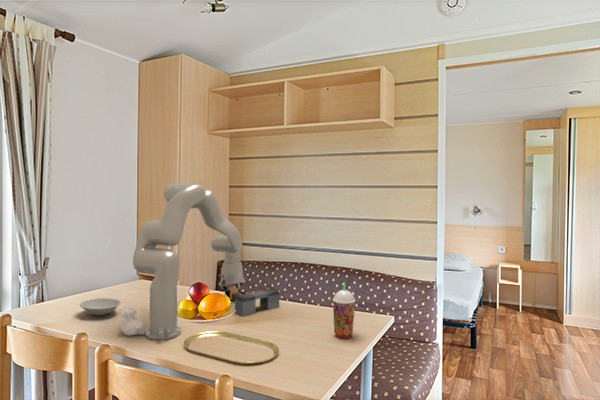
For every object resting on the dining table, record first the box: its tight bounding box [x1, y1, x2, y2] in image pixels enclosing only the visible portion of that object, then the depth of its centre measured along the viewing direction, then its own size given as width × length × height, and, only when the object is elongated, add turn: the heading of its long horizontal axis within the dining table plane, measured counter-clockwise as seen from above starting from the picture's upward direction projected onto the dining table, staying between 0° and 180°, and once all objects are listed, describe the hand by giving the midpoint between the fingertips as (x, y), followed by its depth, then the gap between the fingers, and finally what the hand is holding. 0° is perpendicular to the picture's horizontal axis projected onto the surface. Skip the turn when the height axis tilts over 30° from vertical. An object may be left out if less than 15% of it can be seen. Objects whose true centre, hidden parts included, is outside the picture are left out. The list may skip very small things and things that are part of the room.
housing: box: [234, 288, 280, 317], centre depth 182 cm, size 6×20×8 cm, turn 133°
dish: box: [79, 297, 122, 316], centre depth 172 cm, size 18×14×5 cm
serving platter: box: [183, 330, 280, 366], centre depth 139 cm, size 19×35×2 cm, turn 63°
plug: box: [229, 286, 257, 306], centre depth 192 cm, size 20×4×5 cm, turn 42°
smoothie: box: [332, 282, 356, 340], centre depth 152 cm, size 8×8×20 cm
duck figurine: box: [119, 306, 146, 337], centre depth 151 cm, size 12×8×11 cm
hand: (232, 297), depth 197 cm, fingers closed on plug, 4 cm apart
